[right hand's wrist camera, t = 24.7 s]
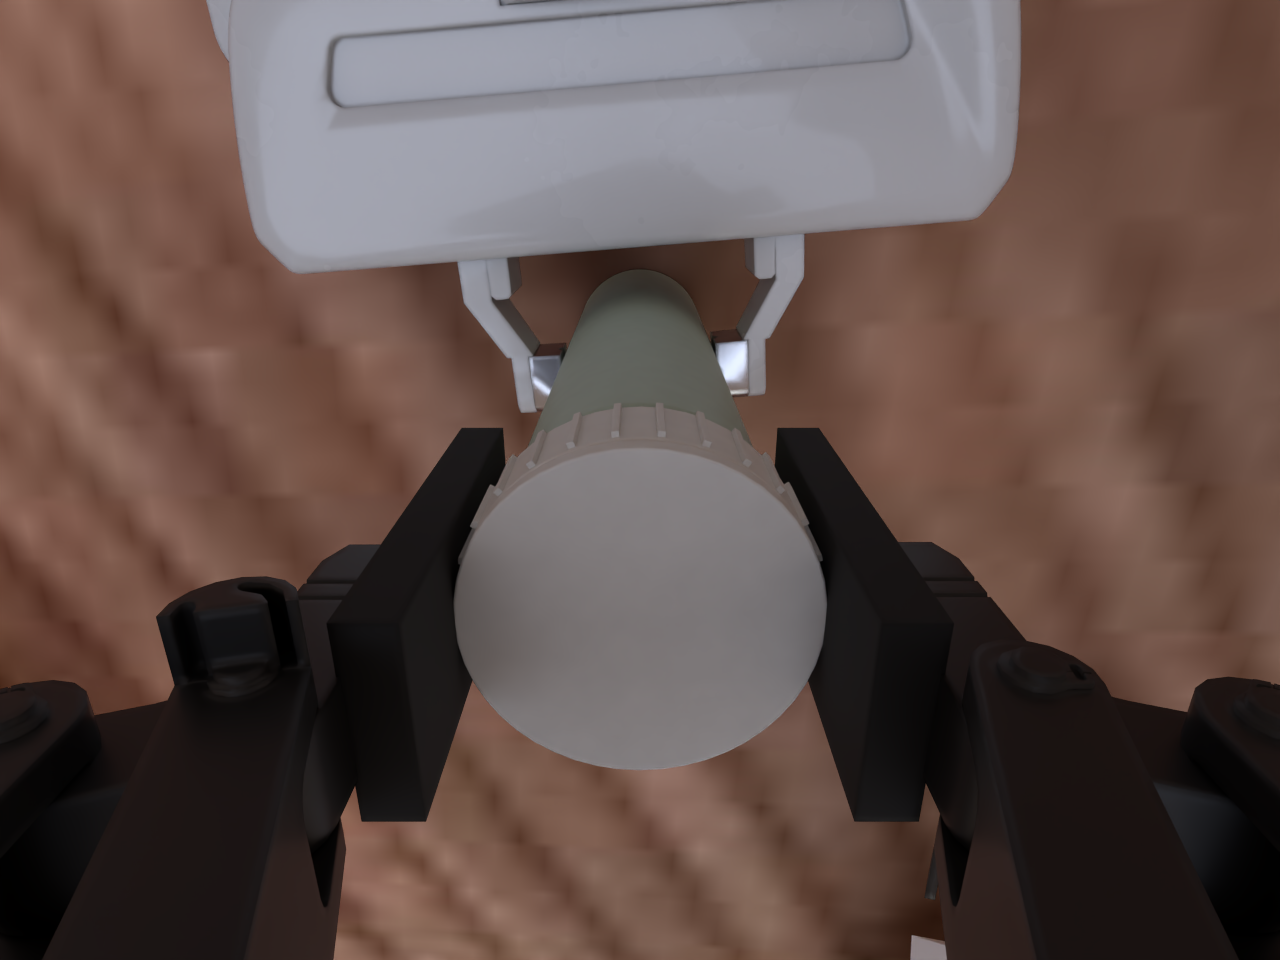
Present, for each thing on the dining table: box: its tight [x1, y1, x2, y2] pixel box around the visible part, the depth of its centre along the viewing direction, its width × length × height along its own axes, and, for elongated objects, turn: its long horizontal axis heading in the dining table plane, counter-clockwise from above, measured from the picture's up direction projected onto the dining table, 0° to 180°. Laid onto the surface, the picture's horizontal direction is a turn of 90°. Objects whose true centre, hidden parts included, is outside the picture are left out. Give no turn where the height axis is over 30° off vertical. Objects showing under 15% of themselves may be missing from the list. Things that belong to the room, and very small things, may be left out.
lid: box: [453, 403, 827, 770], centre depth 11 cm, size 5×5×2 cm
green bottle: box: [528, 269, 753, 447], centre depth 20 cm, size 5×5×19 cm
